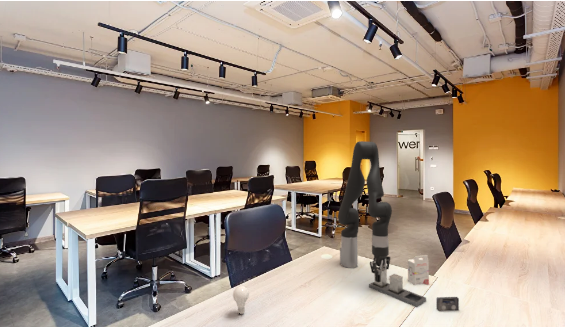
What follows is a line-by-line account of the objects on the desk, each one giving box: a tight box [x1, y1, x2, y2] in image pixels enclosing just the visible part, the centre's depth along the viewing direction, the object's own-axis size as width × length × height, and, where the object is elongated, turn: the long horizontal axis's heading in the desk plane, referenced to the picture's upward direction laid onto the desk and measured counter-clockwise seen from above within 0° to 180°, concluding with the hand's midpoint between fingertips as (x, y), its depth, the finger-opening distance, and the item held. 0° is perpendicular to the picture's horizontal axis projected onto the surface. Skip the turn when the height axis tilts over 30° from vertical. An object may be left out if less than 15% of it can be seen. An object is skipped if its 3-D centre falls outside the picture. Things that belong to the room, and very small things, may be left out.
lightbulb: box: [232, 285, 250, 315], centre depth 113 cm, size 6×6×11 cm
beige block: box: [388, 273, 404, 295], centre depth 126 cm, size 4×4×8 cm
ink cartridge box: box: [407, 254, 430, 286], centre depth 138 cm, size 9×5×15 cm, turn 105°
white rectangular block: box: [373, 268, 388, 288], centre depth 133 cm, size 4×4×8 cm
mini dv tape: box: [435, 296, 460, 312], centre depth 113 cm, size 8×2×6 cm, turn 92°
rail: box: [368, 281, 427, 308], centre depth 126 cm, size 23×8×2 cm, turn 37°
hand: (380, 280), depth 133 cm, fingers closed on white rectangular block, 4 cm apart
